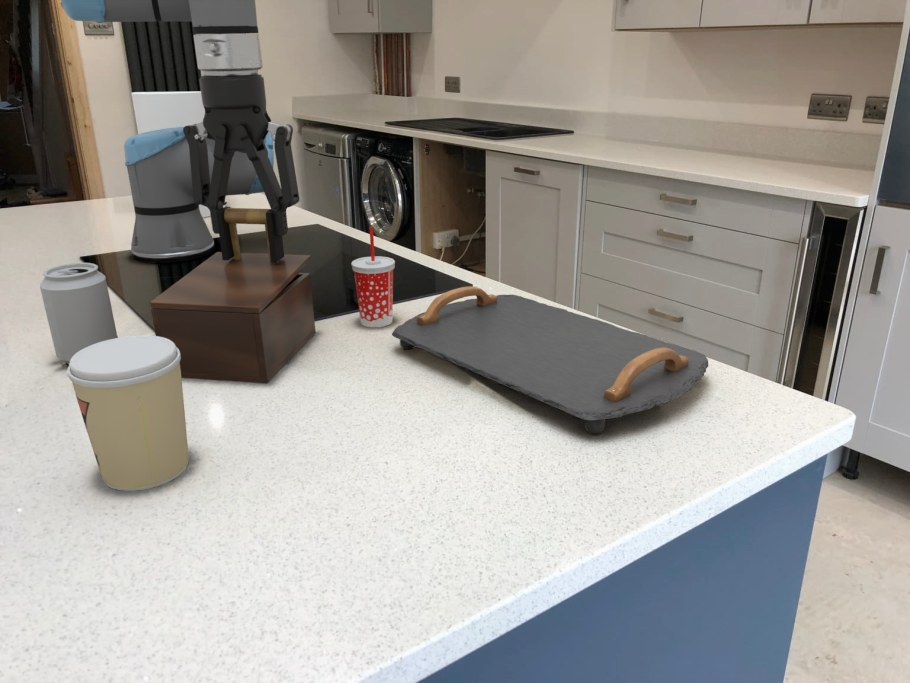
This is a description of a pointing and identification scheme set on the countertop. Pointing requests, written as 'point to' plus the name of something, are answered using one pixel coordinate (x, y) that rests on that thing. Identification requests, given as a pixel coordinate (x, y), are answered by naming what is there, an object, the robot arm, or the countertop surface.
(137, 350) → the coffee cup
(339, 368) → the countertop surface
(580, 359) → the serving tray
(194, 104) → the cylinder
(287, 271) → the lid
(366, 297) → the beverage cup
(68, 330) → the can
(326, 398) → the countertop surface
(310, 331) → the chest
